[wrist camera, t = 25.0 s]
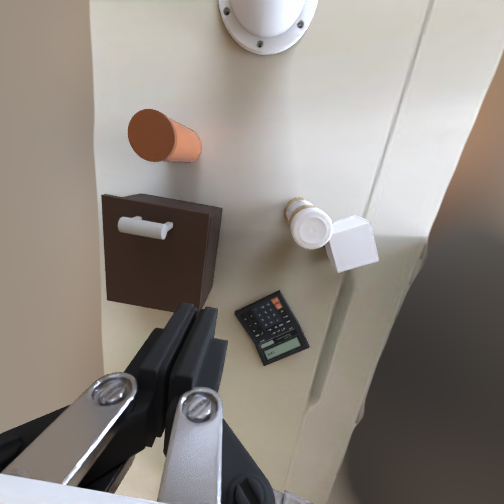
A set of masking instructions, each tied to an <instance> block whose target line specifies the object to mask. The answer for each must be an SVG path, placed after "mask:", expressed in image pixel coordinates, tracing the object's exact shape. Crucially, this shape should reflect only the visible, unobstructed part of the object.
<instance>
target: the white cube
mask: <svg viewBox="0 0 504 504" xmlns="http://www.w3.org/2000/svg"><path fill="white" fill-rule="evenodd" d="M332 224H333V232H332V236H331V238H330V239H329V241H328V242H327V243H326V244H325V249H326V252H327V256H328V259H329V261H330V262H331V263H332V265H333V266H334V268H335V269H336V271H337V272H338V273H339V272H342V271H346V270H349V269H353V268H356V267H360V266H363V265H367V264H370V263H373V262H377V261H379V258H378V254H377V249H376V244H375V240H374V235H373V230H372V226H371V222H369V221H367V220H365V219H363V218H361V217H360V216H358V215H353V216H350V217H347V218H344V219H341V220H338V221H335V222H332Z"/></svg>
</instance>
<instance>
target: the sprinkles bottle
mask: <svg viewBox="0 0 504 504" xmlns="http://www.w3.org/2000/svg"><path fill="white" fill-rule="evenodd" d="M284 215H285V218H286V220H287V222H288V225H289V227H290V228H291V234H292V236H293V238H294V240H295V242H296V243H297V244H298V245H299V246H301V247H303V248H306V249H317V248H320V247H322V246H323V245H325V244H326V243H327V242H328V241H329V239H330V238H331V236H332V232H333V224H332V221H331V219H330V218H329V216H328V215H327V214H326V213H324V212H323V211H322V210H320V209H317V208H316V207H315V206H314V205H312V204H311V203H310V202H309V201H308V200H306V199H304V198H294V199H292V200H290V201H289V202H288V203H287V205H286V207H285V210H284Z"/></svg>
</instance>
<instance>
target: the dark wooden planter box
mask: <svg viewBox="0 0 504 504" xmlns="http://www.w3.org/2000/svg"><path fill="white" fill-rule="evenodd" d="M124 198H129V199H135V200H141V201H146V202H152V203H157V204H163V205H168V206H174V207H179V208H185V209H190V210H196V211H202V212H207V213H211V215H210V224H209V233H208V242H207V252H206V261H205V270H204V279H203V289H202V298H201V307H200V309H202V308H203V306H204V303H205V301H206V299H207V297H208V295H209V293H210V291H211V288H212V285H213V277H214V270H215V262H216V254H217V247H218V239H219V231H220V224H221V216H222V208H219V207H213V206H208V205H202V204H197V203H191V202H186V201H180V200H175V199H169V198H163V197H158V196H152V195H147V194H136V195H131V196H126V197H124Z"/></svg>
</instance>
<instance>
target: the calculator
mask: <svg viewBox="0 0 504 504" xmlns="http://www.w3.org/2000/svg"><path fill="white" fill-rule="evenodd" d="M235 315H236V317H237V318H238V320H239V321H240V323H241V324H242V326H243V327H244V329H245V330H246V332H247V333H248V335H249V336H250V338H251V339H252V341H253V342H254V344H255V346H256V349H257V351H258V353H259V356H260V358H261V361H262V363H263V365H264V366H265V365H268V364H270V363H273V362H275V361H278V360H280V359H282V358H285V357H287V356H290V355H292V354H295V353H297V352H300V351H302V350H304V349H307V348H309V347H310V346H309V344H308V342H307V340H306V337H305V335H304V333H303V331H302V329H301V327H300V325H299V323H298V321H297V319H296V317H295V316H294V314H293V312H292V311H291V309H290V307H289V306H288V304H287V302H286V300H285V299H284V297H283V295H282V294H281V292H280V290H279V291H277V292H275V293H273V294H271V295H269V296H267V297H264V298H262V299H260V300H258V301H256V302H254V303H252V304H250V305H248V306H246V307H243V308H241V309H239V310H237V311H235Z"/></svg>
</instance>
